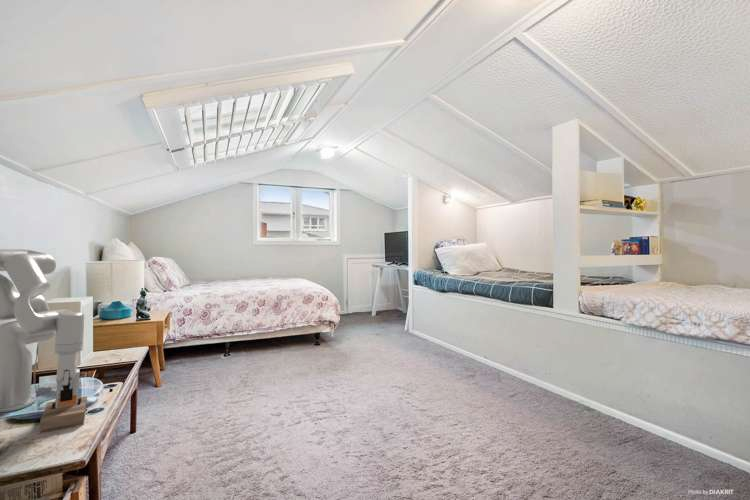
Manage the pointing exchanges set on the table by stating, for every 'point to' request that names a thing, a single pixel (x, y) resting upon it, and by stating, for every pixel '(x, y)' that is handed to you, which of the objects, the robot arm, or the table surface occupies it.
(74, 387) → the skincare box
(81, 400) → the walnut stand
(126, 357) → the table surface
